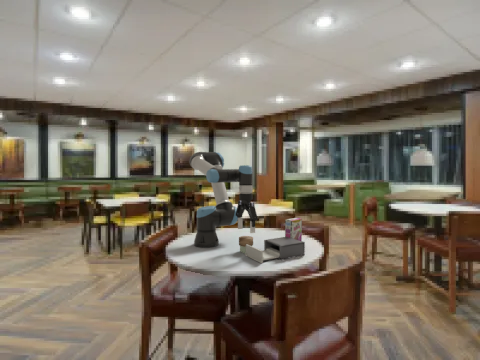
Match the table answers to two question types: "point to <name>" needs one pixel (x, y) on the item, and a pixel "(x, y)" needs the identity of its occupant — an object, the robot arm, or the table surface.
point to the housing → (286, 247)
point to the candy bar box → (293, 228)
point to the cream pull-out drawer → (261, 253)
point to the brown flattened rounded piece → (245, 240)
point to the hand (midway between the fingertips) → (246, 230)
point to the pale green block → (243, 249)
